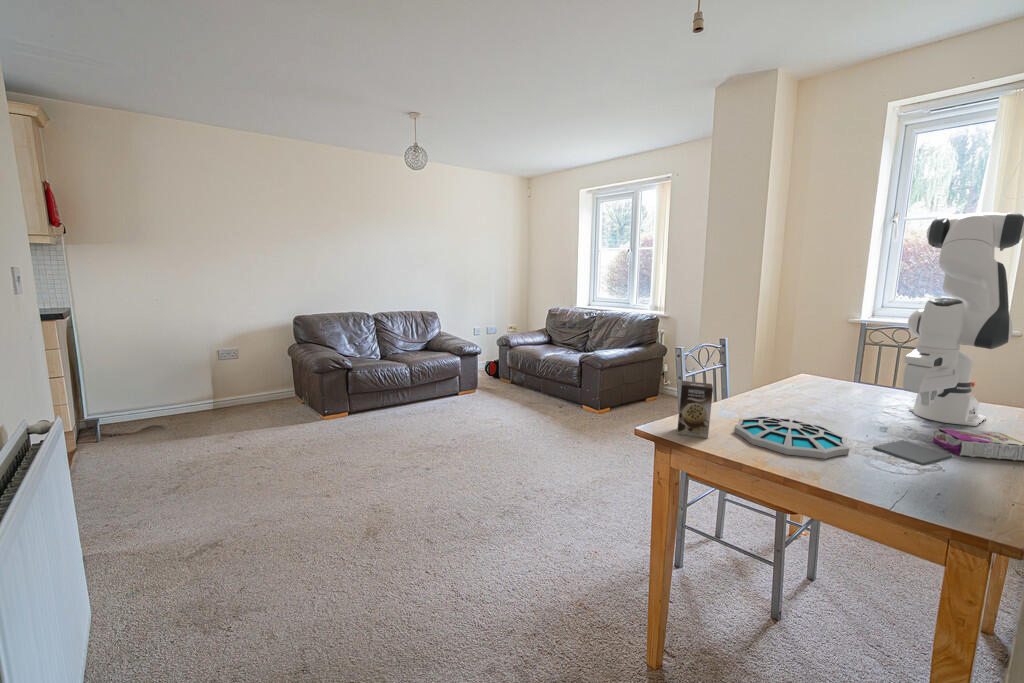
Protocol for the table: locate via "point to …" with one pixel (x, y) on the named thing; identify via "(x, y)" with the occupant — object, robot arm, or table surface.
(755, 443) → the decorative platform
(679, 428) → the brown food box
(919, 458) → the mat
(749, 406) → the table surface
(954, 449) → the candy bar box
